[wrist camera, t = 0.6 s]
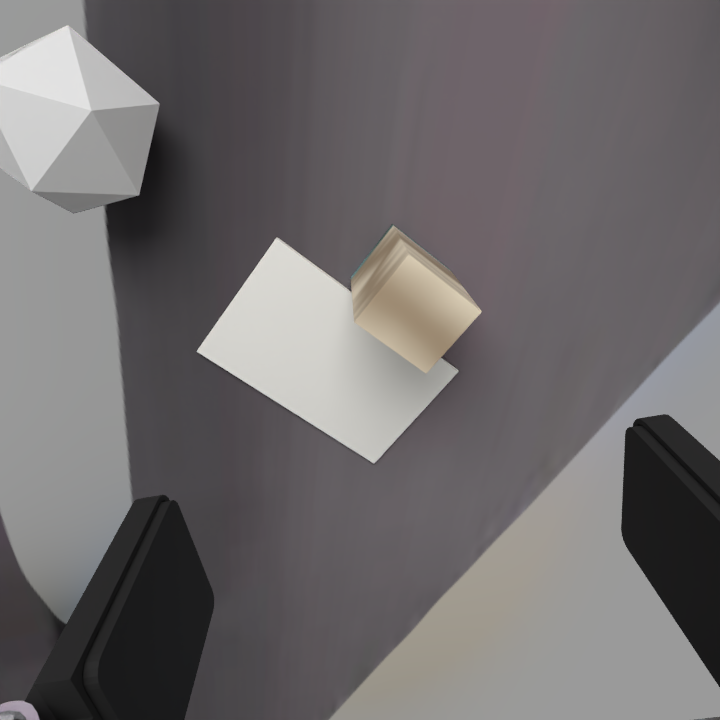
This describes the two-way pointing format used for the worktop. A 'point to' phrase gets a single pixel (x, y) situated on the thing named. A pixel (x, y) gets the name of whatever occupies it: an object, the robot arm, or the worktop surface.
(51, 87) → the die
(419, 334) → the tall block
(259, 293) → the mat
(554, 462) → the worktop surface
